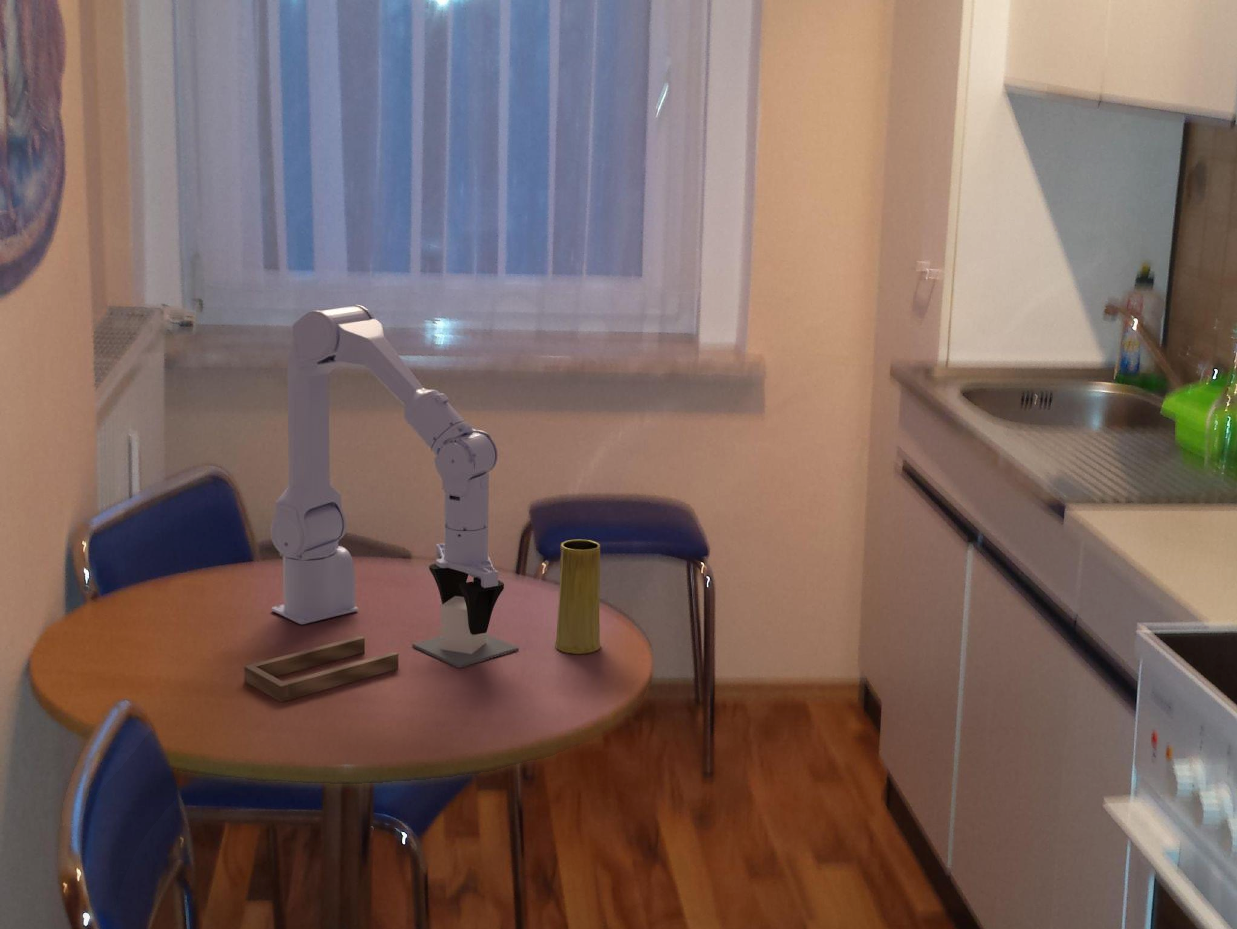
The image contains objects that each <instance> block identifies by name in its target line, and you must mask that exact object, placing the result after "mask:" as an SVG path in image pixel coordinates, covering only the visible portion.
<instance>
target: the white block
mask: <svg viewBox="0 0 1237 929" xmlns="http://www.w3.org/2000/svg"><path fill="white" fill-rule="evenodd" d="M486 634H487V632H486V633H482V634H476V635H472V634H471V633H470V630H469V625H468V615H467V607H466V603H465V599H464V597H460V596H454V597H453V598H451V599H450V600H448V601H447V602H446V603H444V604H443V605H442V604H441V605H440V635H439V636H440V649H442V650H449V651H455V652H462V653H468V654H473V653H474V652H475V651H476V650H478V649H479V648H480V647H481V646H483V645H484V644H485V643H486Z"/></svg>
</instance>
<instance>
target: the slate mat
mask: <svg viewBox="0 0 1237 929" xmlns="http://www.w3.org/2000/svg"><path fill="white" fill-rule="evenodd" d="M411 646H412V647H413V648H414V649H417V650H419V651H421V652H423V653H425V654H427V655H429V656H431V657H434V658H436V659H438V660H440V659H441V661H443V662H445V663H447V664H449V665H451V666H454V667H455V668H458V669H460V667H461V668H463V667H467V666H469V665H470V664H471V665H474V664H476V663H477V662H478V663H480V662H483V661H487V660H486V659H488V660H490V659H489V658H491V659H494V658H493V657H495V656H498V657H500V656H499V655H501V656H503V654H505V653H508V654H510V653H509V652H511V653H514V652H513V651H515V652H517V651H516V650H518V651H519V650H520V649H519V647H518V646H516V645H515V644H511V643H509V642H507V641H504V640H502V639H500V638H497V637H495V636H492V635H490V634H488V633H486V643H485V644H484V645H483V646H481V647H480V648H479V649H478V650H476V651H475V652H474V653H473V654H468V653H462V652H455V651H449V650H442V649H440V635H439V636H435V637H433V638H429V639H424V640H421V641H418V642H413V643H412V644H411ZM505 655H506V654H505ZM495 658H496V657H495ZM478 663H477V664H478Z"/></svg>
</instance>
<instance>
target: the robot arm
mask: <svg viewBox="0 0 1237 929" xmlns="http://www.w3.org/2000/svg"><path fill="white" fill-rule="evenodd" d="M384 332H385V331H384V327H383V324H382V323H381V322H380V321H378V320H377V319H376V318H375V317H374V315H373V314H372V312H371V311H370V310H369V309H368V308H367V307H365V306H362V305H361V304H360V305H359V304H353V305H349V306H344V307H338V308H332V309H331V308H330V309H324V310H310V311H308V312H306V313H305V314H303V316H301V317H300V318H299V319H298V320H297V321H295V322H294V323H293V326H292V336H293V337H292V338H293V341H292V344H291V346H290V349H289V352H288V355H287V362H286V363H287V364H286V367H287V368H286V369H287V370H286V371H287V377H286V378H287V429H288V430H287V431H288V433H287V434H288V441H287V442H288V444H287V445H288V485H287V487H286V489H285V490H284V491H283V492H282V493H281V495H280V496H279V497H278V498H277V500H276V501H275V503H274V508H275V509H274V516H273V518H272V521H271V523H270V530H269V531H270V538H271V541H272V543H273V546H274V547H275V549H276V550H277V551H278V552H279V556H280V557H282V575H283V576H282V578H283V579H282V580H283V604H281V605H276V606H272V607H271V611H272V612H274V613H276V614H278V615H280V616H283V617H285V618H286V619H288V620H291V621H292V622H294V623H297V624H298V625H307V624H311V623H315V622H318V621H322V620H326V619H330V618H334V617H338V616H343V615H347V614H351V613H354V612H358V611H359V607H357V606H356V599H355V598H356V597H355V596H356V595H355V594H356V593H355V591H356V590H355V587H356V586H355V564H354V560H353V557H352V555H351V552H349V550H348V549H346V548H345V547H343V545H339V541H340V540H341V539H342V538H343V537H344V536H345V534H346V531H347V518H346V514H345V512H344V510H343V506H342V494H341V493H340V492H339V491H338V490H337V489H336V488H335V487H333V485H332V484H331V478H330V474H331V471H330V469H331V468H330V467H331V466H330V463H331V462H330V390H329V389H330V378H329V377H330V376H329V375H330V373H331V372H332V371H333V370H335V369H336V367H338V366H339V365H340V364H341V363H346V364H353V365H361V366H364V368H366V369H367V370H368V372H370V374H372V375H373V376H374V377H375V379H377V380H378V381H379V382H380V383H381V384H382V385H383V386H384V387H385V389H387V391H389V393H391V394H392V395H393V396H394V397H395V398H396V399H397V400H398V401H399V402H400V403H401V404H402V405H403V418H404V421H405V422H406V423H407V424H408V425H409V426H410V428H411V429H412V430H413V431H414V432H415V433H416V434H417V436H418V437H419V438H420V439H421V441H422V442H424V444H425V445H426V446H427V447H428V448H429V449H430V450H431V452H433V454H434V455H435V457H434V464H435V468H436V471H437V473H438V474H439V475H440V478H441V481H442V482H441V484H442V490H443V491H444V493H443V494H444V499H443V500H444V502H443V503H444V504H443V507H444V510H443V511H444V512H443V517H444V519H443V522H444V523H443V527H444V528H443V534H444V535H443V539H444V540H443V543H437V544H435V559H436V560H435V563H431V564H430V565H428V569H429V571H430V573H431V575H432V577H433V579H434V581H435V584H436V586H437V589H438V594H439V597H440V601H441V605H443V604H444V603H446V602H447V601H448V600H450V599H451V598H453V597H454V596H460V597H464V599H465V603H466V607H467V615H468V625H469V630H470V633H471V634H472V635H476V634H482V633H486V634H487V632H488V629H489V625H490V621H491V618H492V614H493V610H494V608H495V605H496V603H497V601H498V599H499V597H500V595H501V594H502V592H503V591H504V589H505V584H504V582H502V581H501V580H499V571H498V570H496V569H495V568H494V565H493V563H492V560H491V558H490V556H489V496H490V492H489V490H490V489H489V488H490V486H489V483H490V472H491V471H493V469H494V468H495V466H496V465H497V462H498V456H499V454H498V449H497V445H496V444H495V441H494V440H493V439H492V437H491V435H490V434H489V433H488V432H486V431H485V430H481V429H475V428H474V427H473V426H472V425H471V424H470V422H468V421H465V419H463V417H462V416H461V415H460V414H459V413H458V412H457V411H456V409H455V408H454V407H453V406H452V405H451V404H450V402H449V401H450V398H449V397H448V396H447V395H446V394H445V393H444V392H443V393H441V392H439V391H438V390H437V389H428V388H427V389H426V388H425V387H424V386H423V385H422V384H421V383H420V381H419V379H417V378H416V376H415V375H414V373H413V372H412V371H411V369H410V368H409V367H408V366H407V364H406V363H405V362H404V360H403V359H402V357H400V355H399V354H398V352H397V351H396V350H395V349H394V347H393V346H392V345H391V344H390V342H389V341H388V339H386V337H385V334H384ZM469 576H470V577H472V578H473V580H472V581H468V578H469ZM467 581H468V582H467Z"/></svg>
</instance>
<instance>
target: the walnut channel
mask: <svg viewBox="0 0 1237 929" xmlns="http://www.w3.org/2000/svg"><path fill="white" fill-rule="evenodd" d="M365 644H366V642H365V637H363V636H362V635H359V636H358V635H357V636H354V637H351V638H347V639H342V640H340V641H336V642H332V643H327V644H323V645H321V646H320V645H319V646H316V647H313V648H312V647H311V648H309V649H306V650H302V651H301V650H300V651H298V652H297V651H296V652H294V653H290V654H286V655H282V656H278V657H274V658H271V659H267V660H262V661H258V662H255V663H251V664H248V665H244V666H243V671H244V672H243V673H244V674H243V675H244V676H243V677H244V682H245V683H246V684H248V685H250V686H252V687H253V688H255V689H257V690H259V691H261V692H262V693H265V694H266V695H268V696H270V697H271V698H273V699H275V700H276V701H279V702H280V703H283V702H287V701H290V700H293V699H297V698H300V697H304V696H307V695H311V694H315V693H318V692H322V691H325V690H328V689H332V688H336V687H339V686H342V685H346V684H350V683H353V682H357V681H360V680H364V679H367V678H371V677H375V676H377V675H381V674H385V673H388V672H391V671H395V670H398V669H399V653H398V652H396V651H392V652H388V653H385V654H384V653H383V654H380V655H376V656H374V657H370V658H366V659H362V660H359V661H354V662H351V663H348V664H344V665H339V666H337V667H334V668H329V669H326V670H325V669H324V670H323V671H319V672H316V673H312V674H308V675H304V676H300V677H297V678H293V679H289V680H286V681H282V680H281V679H279V678H277V677H279V676H283V675H286V674H289V673H293V672H294V673H295V672H297V671H302V670H305V669H308V668H312V667H316V666H319V665H324V664H327V663H331V662H334V661H338V660H341V659H346V658H349V657H353V656H356V655H361V654H365V652H366V650H365V648H366V647H365V646H366V645H365Z"/></svg>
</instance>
